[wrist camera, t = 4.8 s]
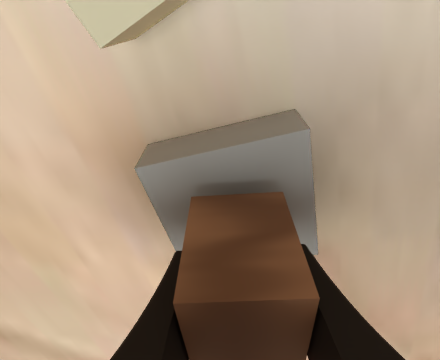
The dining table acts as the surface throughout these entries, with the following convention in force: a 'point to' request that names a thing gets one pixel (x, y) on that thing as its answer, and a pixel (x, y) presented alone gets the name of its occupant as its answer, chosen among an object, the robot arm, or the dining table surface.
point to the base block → (233, 170)
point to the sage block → (120, 17)
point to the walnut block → (244, 281)
